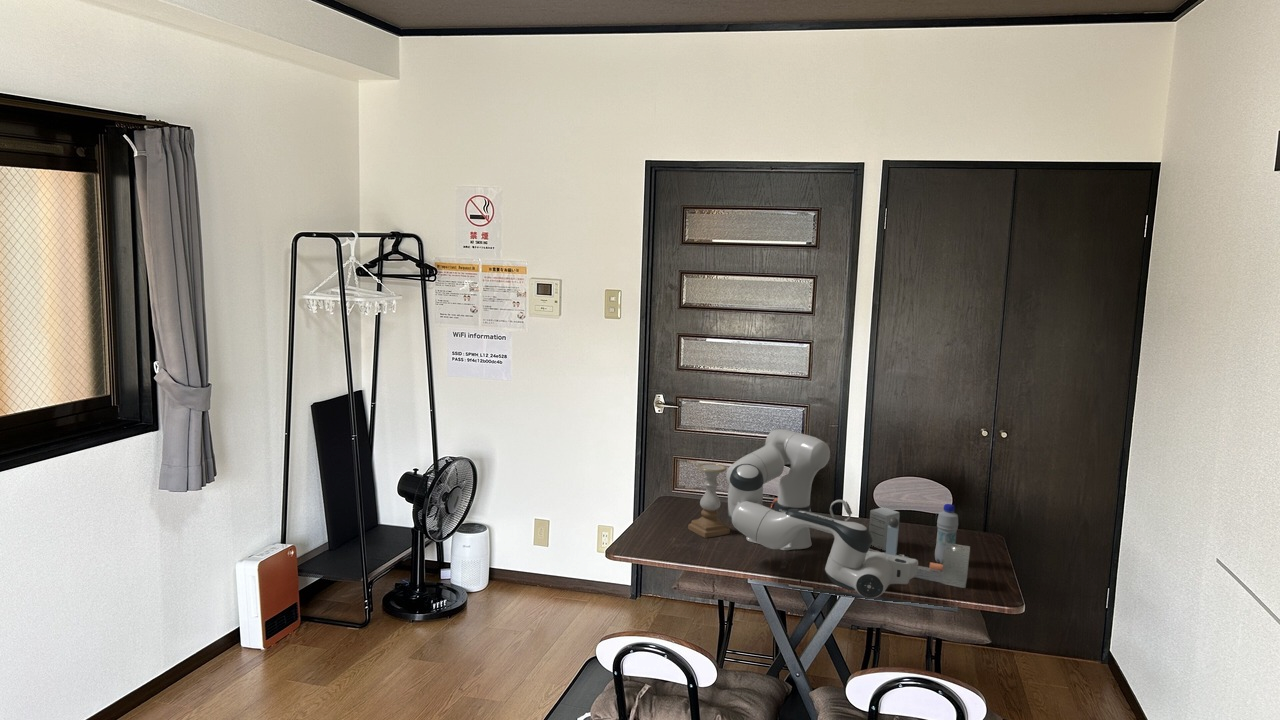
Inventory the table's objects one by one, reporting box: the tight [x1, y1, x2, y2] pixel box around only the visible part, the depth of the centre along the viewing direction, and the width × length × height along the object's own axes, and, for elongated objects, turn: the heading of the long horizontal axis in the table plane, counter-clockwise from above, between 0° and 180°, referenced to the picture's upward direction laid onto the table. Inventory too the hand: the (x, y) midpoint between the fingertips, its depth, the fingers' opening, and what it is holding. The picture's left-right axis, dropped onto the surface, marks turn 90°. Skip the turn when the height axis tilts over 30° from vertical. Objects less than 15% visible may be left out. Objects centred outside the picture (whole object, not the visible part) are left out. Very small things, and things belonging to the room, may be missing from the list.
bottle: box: [934, 503, 959, 564], centre depth 282 cm, size 7×7×20 cm
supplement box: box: [868, 506, 900, 551], centre depth 296 cm, size 7×7×13 cm
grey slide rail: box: [873, 543, 971, 589], centre depth 270 cm, size 30×8×11 cm, turn 65°
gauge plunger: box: [928, 562, 943, 571], centre depth 266 cm, size 7×2×2 cm, turn 65°
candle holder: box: [687, 462, 730, 539], centre depth 303 cm, size 11×11×24 cm
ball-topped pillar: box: [882, 517, 909, 558], centre depth 271 cm, size 8×6×17 cm
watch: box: [829, 499, 853, 521], centre depth 312 cm, size 6×8×11 cm
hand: (886, 554), depth 261 cm, fingers open, 8 cm apart
